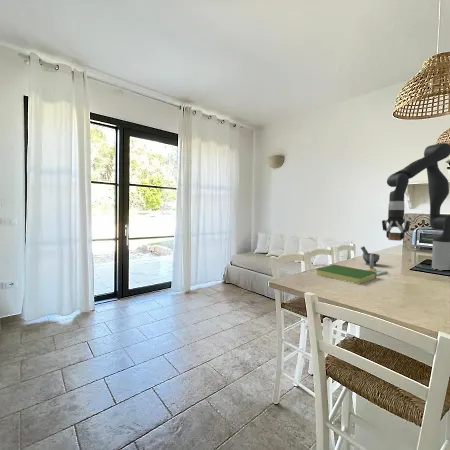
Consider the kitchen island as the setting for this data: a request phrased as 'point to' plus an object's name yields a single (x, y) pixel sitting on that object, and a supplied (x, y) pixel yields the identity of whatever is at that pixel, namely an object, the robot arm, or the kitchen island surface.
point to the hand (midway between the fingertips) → (395, 238)
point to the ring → (394, 236)
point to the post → (379, 272)
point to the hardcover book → (347, 273)
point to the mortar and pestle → (367, 256)
